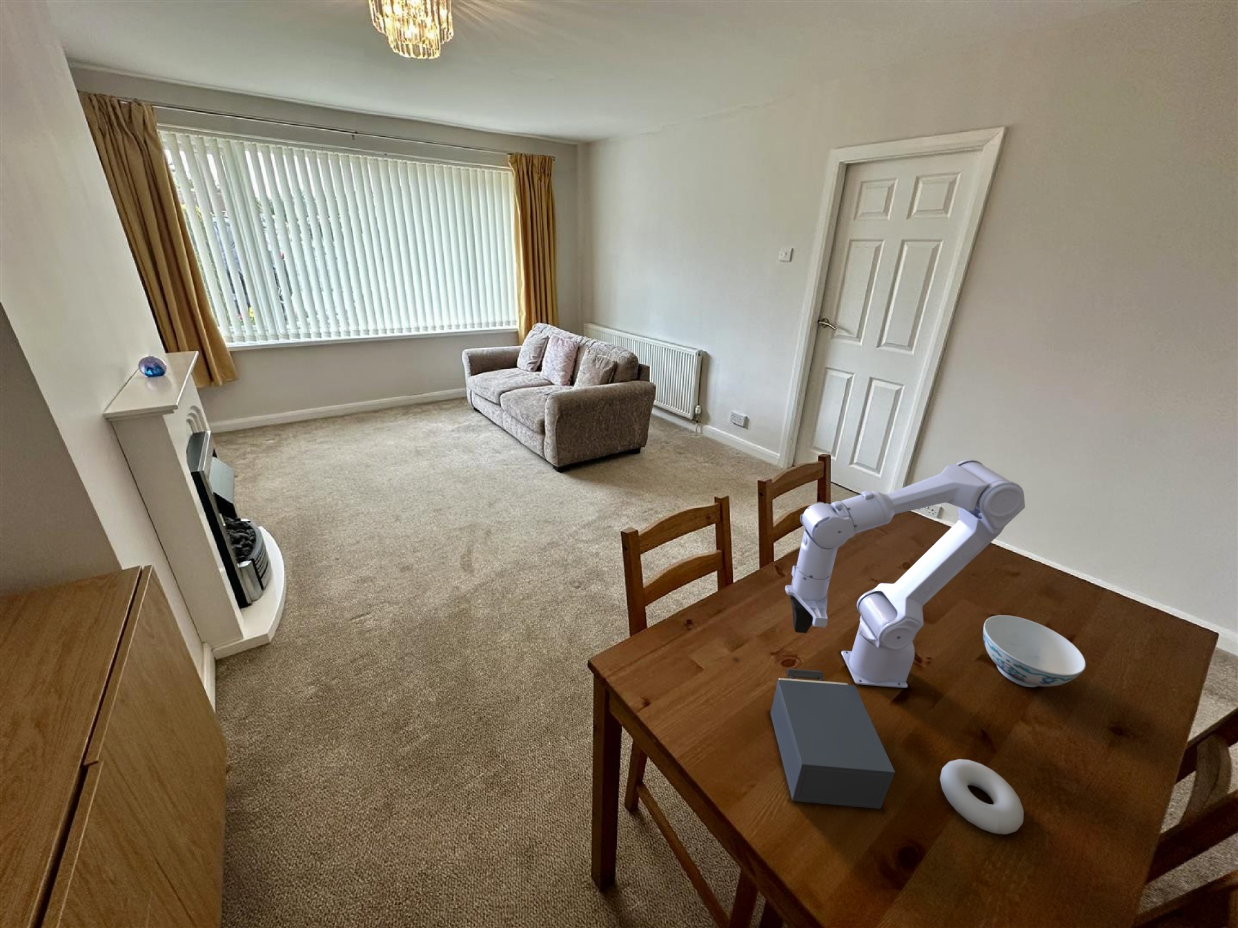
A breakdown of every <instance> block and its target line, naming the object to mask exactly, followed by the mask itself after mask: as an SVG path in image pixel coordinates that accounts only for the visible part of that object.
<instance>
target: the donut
mask: <svg viewBox="0 0 1238 928" xmlns="http://www.w3.org/2000/svg"><path fill="white" fill-rule="evenodd" d="M939 781H940V785H941V790H942V792H943V794H944V796H945V798H946V800H947V802H948V803H949V804H950V805H951V806H952V807H953V808H954V810H955V811H956V812H957V813H958V814H959V815H960V816H961V817H963V818H964V819H965V820H966V821H967V822H969V823H971V824H972V825H974V826H976V827H977V828H979V829H980V830H982V831H983V830H984V831H985V832H989V833H992V834H998V835H1008V834H1012V833H1014V832H1017V831H1018V830H1019V829H1020V827H1021V826H1022V825H1023V823H1024V817H1025V816H1024V814H1025V811H1024V808H1023V805H1022V802H1021V799H1020V797H1019V796H1018V794H1017V793H1016V791H1015V789H1014V788H1013V787H1012V786H1011V785H1010V784H1009V783H1008V782H1007V781H1006V780H1005V779H1004V778H1003V776H1001V775H999V774H998V773H997V772H996V771H995V770H993V769H991V768H989V767H988V766H985V765H984V764H983V763H980V762H976V761H973V760H970V759H963V758H962V759H961V758H958V759H955V760H950V761H948V762H947V763H946V764H945V765H944V766H943V767H942V769H941V772H940V777H939ZM968 786H973V787H975V788H977V789H980V790H981V791H982V792H984V793H985V794H986V795H987V796H988V797H989V798H990V799H991V801H992V804H989V803H987V802H984V801H983V800H981V799H979V798H977V797H976V796H975V795H974V794H973V793H972V792H971V790H970V789H969V787H968Z"/></svg>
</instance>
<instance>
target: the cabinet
mask: <svg viewBox="0 0 1238 928" xmlns="http://www.w3.org/2000/svg"><path fill="white" fill-rule="evenodd" d="M770 717H771V721H772V726H773V728H774V733H775V738H776V742H777V746H778V749H779V754H780V757H781V761H782V762H781V763H782V765H783V771H784V775H785V778H786V782H787V786H788V790H789V794H790V798H791V801H792V802H798V803H799V802H801V803H811V804H823V805H833V806H845V807H854V808H855V807H856V808H865V809H875V810H876V809H878V810H881V809H882V806H883V804H884V801H885V799H886V796H887V794H888V792H889V789H890V786H891V784H892V781H893V779H894V776H895V773H896V771H895V769H894V767H893V764H892V762H891V761H890V758H889V756H888V754H887V752H886V749H885V747H884V745H883V742H882V741H881V739H880V737H879V734H878V733H877V730H876V728H875V725H874V723H873V722H872V719H871V717H870V715H869V713H868V710H867V708H866V706H865V704H864V702H863V699H862V697H861V695H860V693H859V691H858V689H857V687H856V685H855V684H854V685H853V684H848V685H843V684H830V683H817V682H804V681H791V680H779V679H777V682H776V686H775V691H774V696H773V701H772V704H771V710H770Z"/></svg>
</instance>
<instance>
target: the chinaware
mask: <svg viewBox="0 0 1238 928" xmlns="http://www.w3.org/2000/svg"><path fill="white" fill-rule="evenodd" d="M982 638H983V639H982V640H983V644H984V647H985V649H986V652H987V654H988V655H989V657H990V658H991V660H992V661H993V663H994V664H995V665H996V668H997V669H998V671H999V672H1000V673H1001V674H1002V675H1003V676H1004V677H1005V678H1007V679H1008V680H1009V681H1011V682H1012V683H1015V684H1017V685H1020V686H1023V687H1028V688H1036V687H1056V686H1062V685H1064V684H1067V683H1069V682H1071V681H1073V680H1075V679H1076V678H1077V677H1079V676H1080V675H1081V674H1082V673H1083V672H1084V671H1085V669H1086V666H1087V665H1086V663H1087V662H1086V659H1085V657H1084V655H1083V654H1082V653H1081V651H1080V649H1078V648H1077V647H1076V646H1075V645H1074V644H1073V643H1072V642H1071V641H1070V640H1068V639H1067V638H1066V637H1065V636H1063V635H1061V634H1059V633H1058V632H1056V631H1055V630H1053V629H1051V628H1049V627H1047V626H1045V625H1043V624H1040V623H1038V622H1036V621H1032V620H1030V619H1027V618H1024V617H1019V616H1016V615H1015V616H1014V615H1008V614H1007V615H1005V614H1003V615H1002V614H999V615H993V616H990V617H988V618H987V619H986V620H985V621H984V624H983V630H982Z"/></svg>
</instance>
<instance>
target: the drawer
mask: <svg viewBox="0 0 1238 928" xmlns="http://www.w3.org/2000/svg"><path fill="white" fill-rule="evenodd" d="M786 677H787V678H783V677H779V678H778V680H791V681H804V682H817V683H830V684H843V685H849V684H848V683H847V682H838V681H837V682H835V681H825V680H824V673H823V671H821V670H810V669H800V668H799V669H797V668H786Z"/></svg>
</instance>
